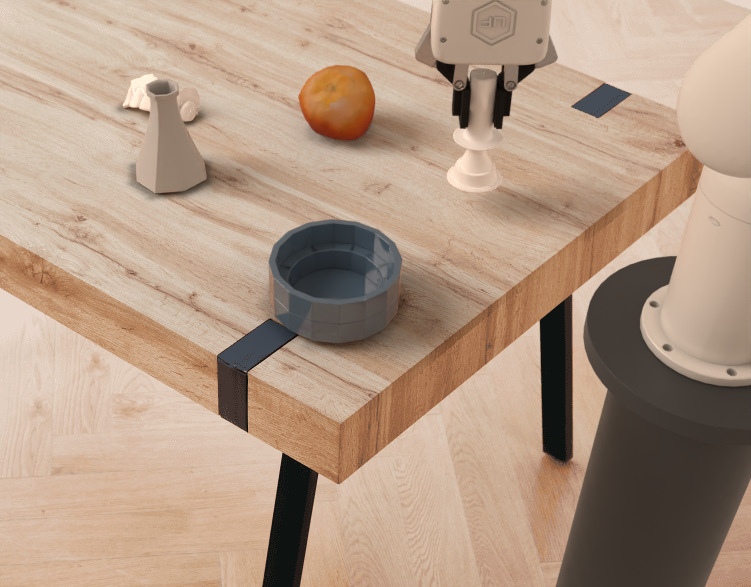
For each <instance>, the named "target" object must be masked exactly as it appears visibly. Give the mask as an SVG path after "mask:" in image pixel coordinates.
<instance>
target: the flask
mask: <svg viewBox="0 0 751 587" xmlns="http://www.w3.org/2000/svg"><path fill="white" fill-rule="evenodd" d="M179 90H180V86H179V83H178V82H176V81H174V80H173V79H171V78H161V79H158V80H154V81H152V82H150V83H148V84H146V94H147V96H148V97H150V104H151V105H150V112H149V118H148V123H147V126H146V129H145V134H144V136H143V140H142V143H141V146H140V150H139V153H138V156H137V159H136V163H135V170H136V171H135V174H136V175H135V176H136V182H137V183H139V184H140V185H142V186H143V187H144V188H146V189H147V190H150V191H151V192H152V193H154V194H163V193H176V192H185V191H188V190H189V189H192V188H193V187H195V186H197V185H198V184H200V183H202V182H204V181H206V180H207V179H208V178H207V169H206V163H205V161H204V159H203V157H202V155H201V153H200V150H199V149H198V147H197V145H196V144H195V142H194V140H193V138H192V137H191V136H192V135H191V134H190V132H189V130H188V128H187V125H186V124H185V121H183V120H182V117H181V114H180V111H179V107H178V104H177V96H178V95H179Z"/></svg>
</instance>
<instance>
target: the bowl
mask: <svg viewBox="0 0 751 587" xmlns="http://www.w3.org/2000/svg"><path fill="white" fill-rule="evenodd" d="M271 248H272V249H271V252H270V255H269V258H268V286H269V287H268V288H269V289H268V290H269V301H270V305H271V308H272V309H271V310H272V312H273V315H274V317H275V319H277V320H278V321H279V322H280V323H281V324H282V325H283V326H284V327H285V328H286V329H287V330H288V331H290V332H292V333H294V334H296V335H298V336H301V337H303V338H305V339H308V340H310V341H313V342H320V343H321V342H323V343H329V344H343V343H350V342H355V341H356V342H357V341H362V340H366V339H367V338H369V337H371V336H373V335H375V334H377V333H379V332H381V331H383V330H385V329H386V327H387V326H388V325H389V324H390V323H391V321H393V319H394V318H395V317H396V315H397V314H398V311H399V310H398V309H399V305H400V297H401V285H402V271H403V257H402V255H401V252H400V250H399V249H398V246H397V244H396V243H395V241H394V240H392V239H391V238H390V237H389V236H388V235H387V234H385V233H384V232H382V231H381V230H379V228H378V229H377V228H375V227H372V226H370V225H367V224H365V223H362V222H359V221H356V220H346V219H336V218H330V219H324V220H323V219H322V220H315V221H309V222H306V223H303V224H302V225H299V226H297V227H295V228H291V229H290V230H287V231H286V232H285V233H284V234H283V235H282V236H281V237H280V238H279V239H278V240H277V241H276V242H275V243H274V244H273V245H272V247H271Z"/></svg>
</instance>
